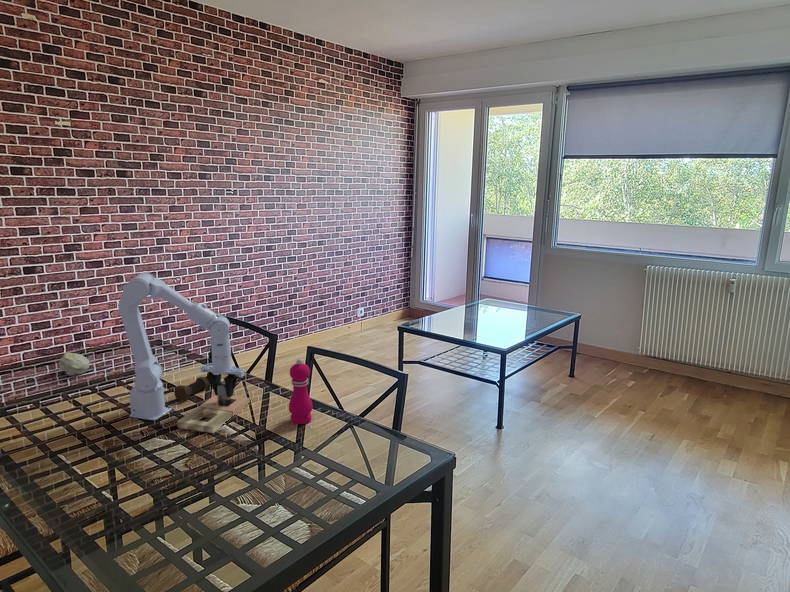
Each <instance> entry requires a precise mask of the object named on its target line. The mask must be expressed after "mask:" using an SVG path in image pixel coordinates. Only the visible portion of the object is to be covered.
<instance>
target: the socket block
mask: <svg viewBox="0 0 790 592" xmlns="http://www.w3.org/2000/svg"><path fill="white" fill-rule="evenodd" d="M248 403H251V402H250V397H244V396H236V395H232V396H231V404H230V405H229V406H226V407H224V406H218V398H217V396H216V395H215V394H214V395H212V397H210V398H209V399H207V400H206V401H204V402H203V403H201V404H200V405H198V407H201V408H208V409H215V410H221V411H228V412H232V416H234V415H235V414H236V415H238V414H239V413H240V412H241V411H242V409H243V408H244V407H245V406H246V405H247V404H248ZM246 407H247V406H246ZM246 407H245V408H246ZM245 408H244V409H245ZM244 409H243V410H244ZM238 412H239V413H238ZM237 413H238V414H237ZM236 415H235V416H236ZM235 416H234V417H235Z"/></svg>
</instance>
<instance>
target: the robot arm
mask: <svg viewBox="0 0 790 592" xmlns="http://www.w3.org/2000/svg"><path fill="white" fill-rule="evenodd" d="M121 292H122V293H121V296H120V298H119V301H118V304H117V307H118V311H119V315H120V317H121V320H122V325H123V326H124V330H125V334H126V337H127V340H128V343H129V346H130V350H131V353H132V356H133V359H134V374H135V378H134V385H135V386H134V387H132V388H131V390H130V392H129V405H130V407H129V408H130V414H129V416H128V417H130V418H135V419H143V420H148V421H156V420H158V419H160V418H161V417H162V416H165V415H166V414H168V413H169V412H171V411H172V410H173V409H172V407H166V403H165V402H166V401H165V392H164V391H165V390H164V383H163V381H162V380H161V378H162V376H163V374H164V370H163V367H162V365H161V364H160V363H159V362H158V360H157V357H156V356H155V355H154V354H153V351H152V348H151V344H150V341H149V337H148V335H147V332H146V329H145V325H144V321H143V317H142V314H141V311H140V309H139V306H140V305H141V303H142V302H143V300H145V299H146V298H147V297H148V296H149V299H150V300H152V299H153V300H154V299H161V300H164V301H166V302H168V303H170V304H171V305H173V306H175V307H176V308H178V309H180V310H182V311H184V312H185V313H186V317H187V319H188V320H190V321H192V322H193V323H195V325H196V324H197V325H198V326H200V327H201V328H202V329H204V330H207V331H208V334H209V337H211V341H210V349H211V360H212V362H211V363H212V364H203V365H201V366H200V373H202V374H203V373H204V374H205V373H208V374H207V375H206V376H205V377H206V378H207V380H208V381H209V382H210V386H211V387H212V390H213V392H214V395H216V396H217V383H219V382H222V375H226V376H225V377H223V381H225V384H226V388H227V396H228V397H231V396H234V391H235V386H236V384H237V381H238V379H239V378H243V377H244V376H246V374H245V373H246V372H245V369H242V368H239V367H236V366H233V363H232V351H231V349H232V348H231V339H230V338H231V336H230V327H231V323H230V321H229V319H228V318H227V317H226V316H225V315H222V314H220V313H218V312H217V313H216V312H214V311H213V310H211V309H210V308H209V307H207V306H208V305H207V304H206V303H201V302H191V300H190V299H187V298H186V296H185V297H184V295H182V294H181V293H179V292H178V291H176V290H175V289H173V288H172V287H171V286H169V285H168V284H167V283H165V282H164V281H163V280H161V279H160V278H158V277H155V276H154V275H153V274H152V273H149V272H140V273H138V274H137V275H135V277H133V278H131V279H130V280H128V282H127V283H126V284H125V285H124V287H123V288H122V291H121Z"/></svg>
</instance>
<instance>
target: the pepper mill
mask: <svg viewBox="0 0 790 592" xmlns="http://www.w3.org/2000/svg"><path fill="white" fill-rule="evenodd" d="M295 361H296V363H294V364H292V366H291V367H290V369H289V375H290V378H291V385H292V389H293V391H292V395H291V398H290V401H289V402H288V403H289V404H288V412H289V413H290V422H291V424H293V423H294V424H293V425H295V424H304V425H308V424H310V422H311V421H312V414H311V412H312V411H313V409H314V407H313V405H314V404H313V401H312V399H311V397H310V395H309V392H308V385H309V377H310V374H311V370H310V367H309V366H308V365H307V364H306V363H303V359H302V358H298V359H297V360H295Z"/></svg>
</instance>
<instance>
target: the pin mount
mask: <svg viewBox="0 0 790 592" xmlns="http://www.w3.org/2000/svg"><path fill="white" fill-rule="evenodd" d="M231 417H232V412H228V411H221V410H215V409H208V408H201V407H199V406H197V407H195V408H194V409H193V410H192V411H190V412H188V413H187V414H186V415H184V416H183V417H181V418H180V419H179V420H177V421H176V424H177V426H176V427H177V428H179V429H185V430H191V431H197V432H202V433H209V434H215V433H216V432H217V431H219V429H220V428H222V427H223V426H224V425H226V423H225V422H226V421H228V420H229V419H230V418H231ZM203 418H206V419H210V420H208V421H205V420H204V421H203V420H202V419H203ZM232 418H233V417H232ZM230 420H231V419H230ZM230 420H229V421H230ZM229 421H228V422H229ZM223 424H224V425H223ZM222 425H223V426H222ZM221 426H222V427H221Z"/></svg>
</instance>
